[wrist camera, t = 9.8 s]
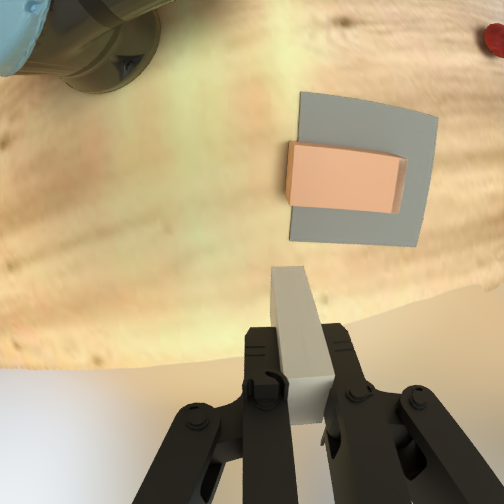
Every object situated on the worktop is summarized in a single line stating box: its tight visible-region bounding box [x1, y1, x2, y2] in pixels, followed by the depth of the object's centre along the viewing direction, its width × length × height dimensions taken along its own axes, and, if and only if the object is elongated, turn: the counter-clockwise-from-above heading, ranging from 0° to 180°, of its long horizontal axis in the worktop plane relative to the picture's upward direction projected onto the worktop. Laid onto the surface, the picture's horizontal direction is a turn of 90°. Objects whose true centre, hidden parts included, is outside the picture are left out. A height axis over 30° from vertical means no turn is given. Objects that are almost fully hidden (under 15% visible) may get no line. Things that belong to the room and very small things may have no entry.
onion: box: [484, 23, 504, 58], centre depth 24 cm, size 6×6×8 cm
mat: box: [289, 92, 438, 247], centre depth 39 cm, size 20×20×1 cm
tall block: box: [285, 141, 408, 214], centre depth 36 cm, size 7×5×14 cm
